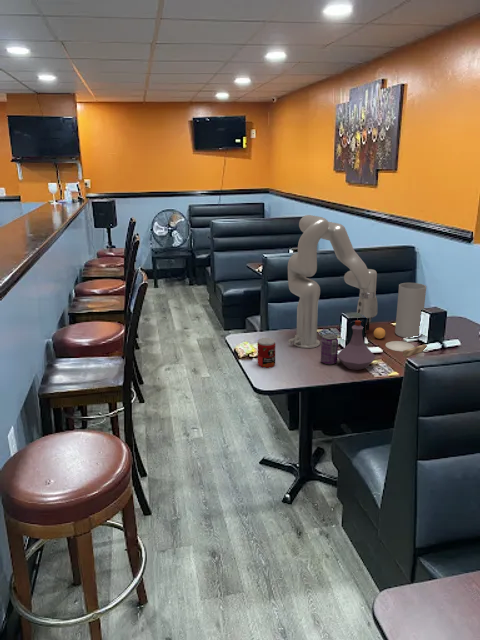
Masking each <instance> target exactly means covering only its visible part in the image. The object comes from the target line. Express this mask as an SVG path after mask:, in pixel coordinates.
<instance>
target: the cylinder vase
mask: <svg viewBox="0 0 480 640" xmlns="http://www.w3.org/2000/svg"><path fill="white" fill-rule="evenodd" d="M426 296H427V286H426V285H425V284H422V283H418V282H403V283H400V284H398V293H397V305H396V306H397V307H396V318H395V328H394V329H395V330H394V332H395V335H396V336H398V337H400V338H405V339H407V338H406V337H413V336H418V334H419V326H420V315H421V310H422V309H424V310H425V305H426V304H425V303H426Z"/></svg>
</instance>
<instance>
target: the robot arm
mask: <svg viewBox="0 0 480 640" xmlns="http://www.w3.org/2000/svg"><path fill="white" fill-rule="evenodd" d="M298 227H299V229H300V231H301V232H302V234H301V235H300V237H299V240H298V242H297V243H298V245H297V253H293V254H292V255H291V256H290V258H289V259H288V261H287V262H288V263H287V284H288V289H289V291H290V293H292V294H293V295H294V296H297V297H299V300H298V303H297V308H296V334H295V335H294V337H293V338H288V340H287V341H288V343H289V344H293V346H296V347H297V348H301V349H313V348H317V347H318V346H320V345H321V341H320V340H319V339H318V338H317V337H318V314H319V313H318V311H319V310H318V305H319V299H320V295H321V287H320V285H319V284H318V282H317V281H315V280H313V279H311V277H313V276H315V274H316V273H317V270H318V261H317V260H318V255H317V254H318V253H317V251H318V250H317V249H318V244H319V242H320V240H321V239H322V240H325V241H329V242H330V244H331V246H332V249H333V252H334V253H335V256H336V259H337V260H338V261H339V262H340V263H341V264H343V265H344V266H346V267H347V268H348V269H349V270H348V271H347V272H345V273H344V275H343V280H344V282H345V283H346V284H347V285H349V286H351V287H353V288H354V287H355V288H357V289H359V294H358V296H359V297H358V301H357V307H356V314H357V313H360V314H362V315H364V316H365V317H366V318H367V325H366V330H365V331H369V330H370V323H371V321H372V319H373V318H375V317H376V316H377V315H378V299H377V296H376V294H377V293H376V291H377V277H378V273H377V271H376V270H375V269H372V268H368V267H367V264H366V263H365V262H364V261H363V260H362V258H361V257H360V256H359V254H358V253H357V252H356V251H355V249H354V246H353V244H352V242H351V239H350V237H349V234H348V232H347V229H346V227H345V226H344V225H343V224H341V223H337V222H332V221H329V220H328V219H327V218H325V217H323V216H318V215H316V216H315V215H311V214H306V215H304V216H302V217H301V218H300V219H299V223H298Z"/></svg>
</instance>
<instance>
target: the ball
mask: <svg viewBox="0 0 480 640" xmlns="http://www.w3.org/2000/svg"><path fill="white" fill-rule="evenodd" d="M373 336H374V337H375V339H378V340H379V339H383V338H385V336H386V330H385V329H384V328H382V327H376V328H375V329H374V331H373Z"/></svg>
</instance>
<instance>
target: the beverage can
mask: <svg viewBox="0 0 480 640" xmlns="http://www.w3.org/2000/svg"><path fill="white" fill-rule="evenodd" d="M320 345H321V347H320V349H321V350H320V362H321V363H323V364H325V365H334V364H336V363H337V362H338V357H337V355H338V354H339V352H338V351H339V339H338V335H336V334H333V333H325V334H323V335H322V338H321V341H320Z"/></svg>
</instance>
